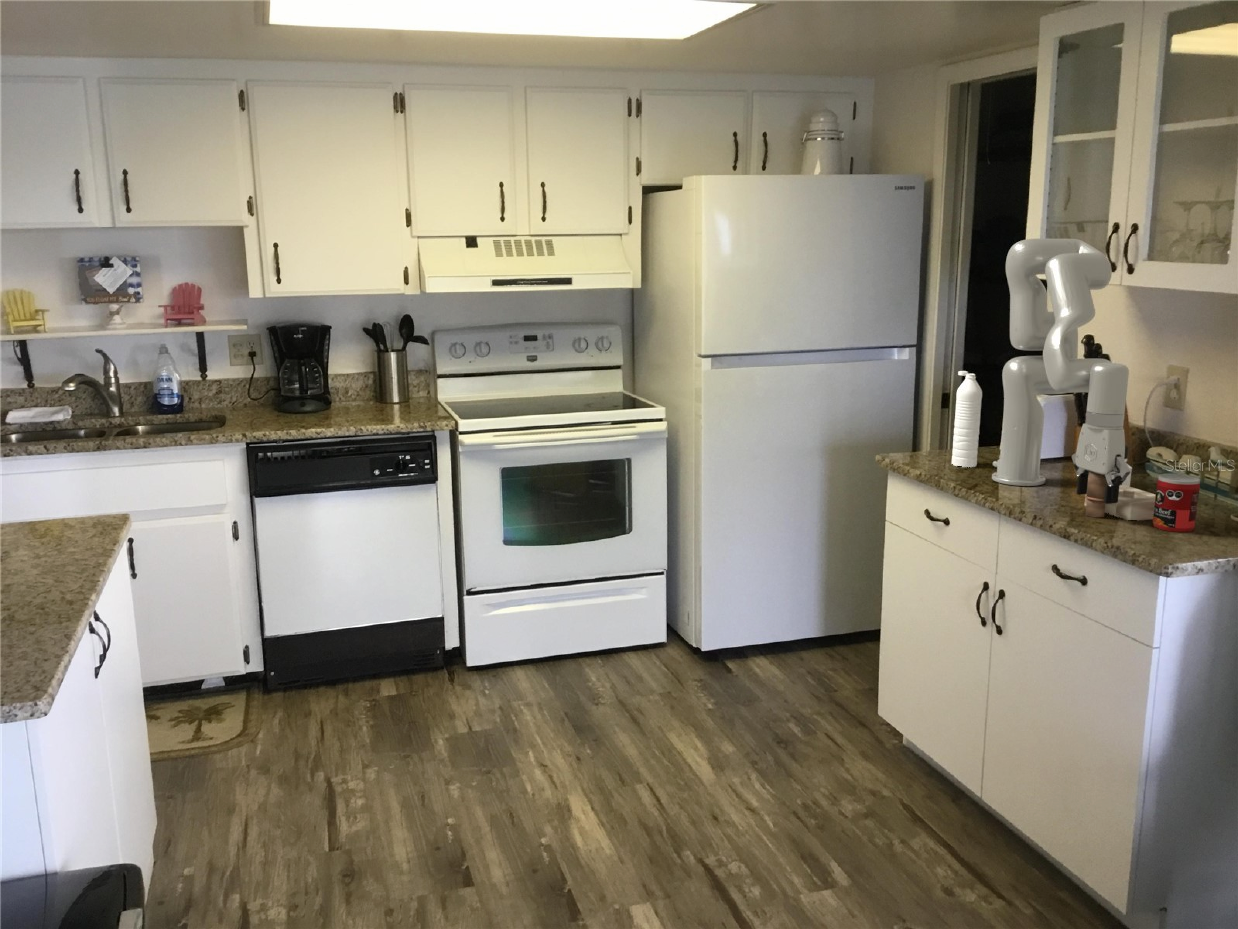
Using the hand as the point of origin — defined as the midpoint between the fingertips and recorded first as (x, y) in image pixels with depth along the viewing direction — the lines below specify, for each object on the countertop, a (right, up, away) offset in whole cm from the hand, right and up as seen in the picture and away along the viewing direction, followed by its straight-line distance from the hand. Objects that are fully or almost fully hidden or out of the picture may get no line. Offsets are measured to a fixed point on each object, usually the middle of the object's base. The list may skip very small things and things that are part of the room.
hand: (1096, 498), depth 227 cm
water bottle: (-12, +7, +52) cm, 54 cm away
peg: (0, -4, +1) cm, 4 cm away
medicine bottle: (+13, +1, +22) cm, 26 cm away
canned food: (+12, -6, -8) cm, 16 cm away
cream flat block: (+9, -3, +4) cm, 10 cm away
